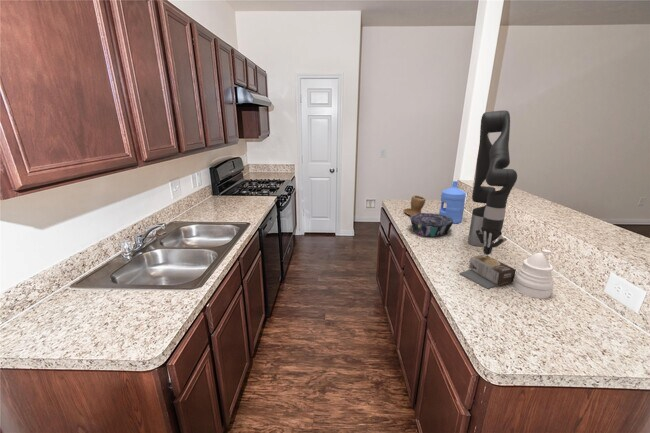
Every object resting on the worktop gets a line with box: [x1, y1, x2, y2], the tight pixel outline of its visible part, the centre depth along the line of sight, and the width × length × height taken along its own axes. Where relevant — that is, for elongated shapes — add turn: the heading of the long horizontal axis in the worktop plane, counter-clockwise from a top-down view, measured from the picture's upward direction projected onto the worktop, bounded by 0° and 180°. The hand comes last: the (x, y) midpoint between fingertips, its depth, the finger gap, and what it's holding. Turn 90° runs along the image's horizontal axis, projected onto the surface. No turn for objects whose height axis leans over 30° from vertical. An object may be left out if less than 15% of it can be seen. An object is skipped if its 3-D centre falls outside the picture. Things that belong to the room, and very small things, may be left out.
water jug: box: [438, 180, 467, 225], centre depth 197 cm, size 16×16×28 cm
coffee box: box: [468, 254, 517, 286], centre depth 126 cm, size 9×6×16 cm
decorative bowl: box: [409, 212, 453, 238], centre depth 180 cm, size 26×28×10 cm
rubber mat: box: [459, 269, 499, 290], centre depth 126 cm, size 14×14×1 cm
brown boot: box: [403, 195, 426, 217], centre depth 211 cm, size 15×12×15 cm
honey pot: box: [512, 248, 555, 299], centre depth 114 cm, size 13×13×18 cm
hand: (486, 254), depth 123 cm, fingers closed
